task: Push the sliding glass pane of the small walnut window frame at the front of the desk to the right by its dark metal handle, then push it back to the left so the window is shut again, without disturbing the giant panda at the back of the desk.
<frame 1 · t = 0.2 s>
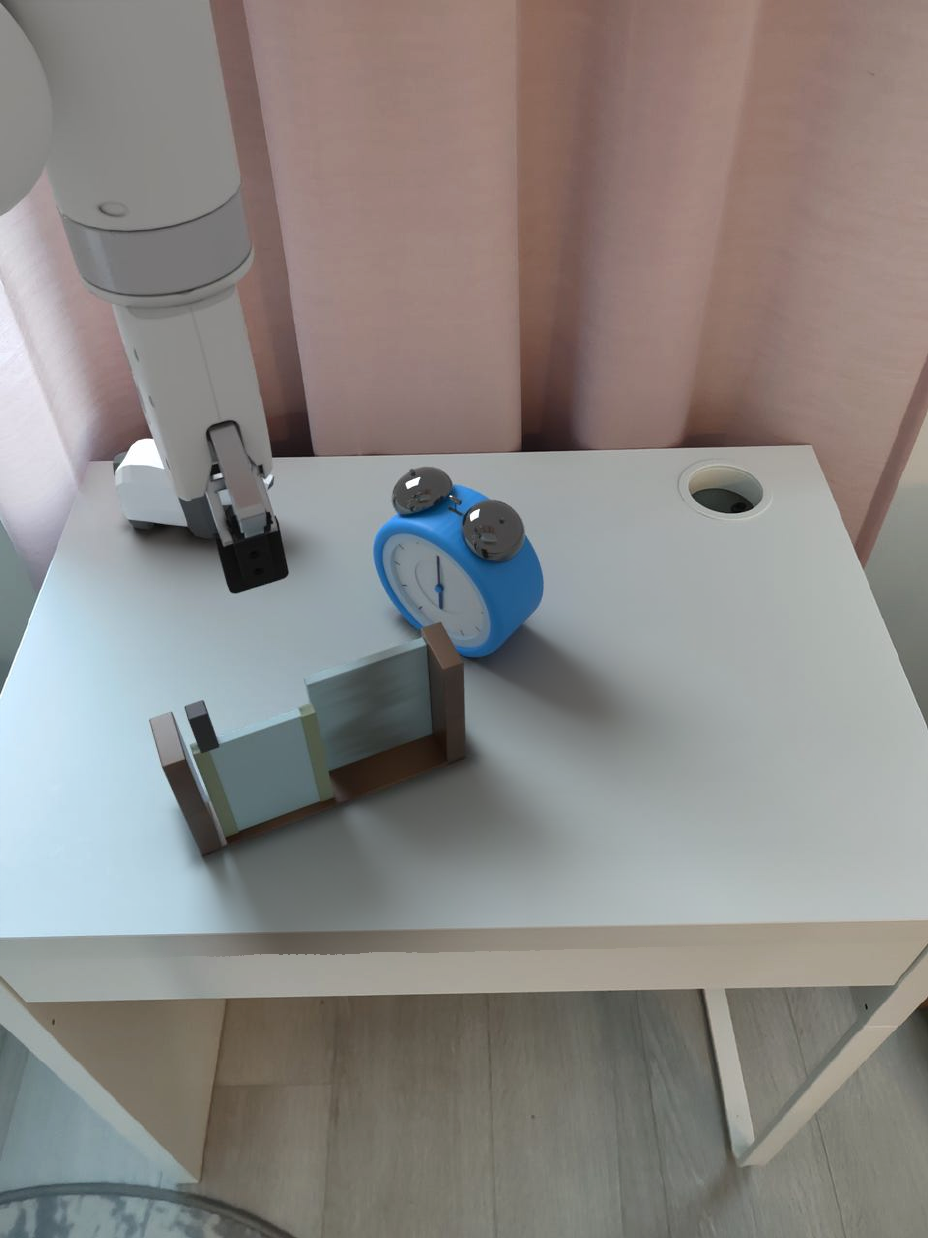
hand: (234, 524, 55), 26 cm above the table, tool pointing down, fingers open, 9 cm apart
giant panda: (202, 528, 93), on the table
alarm clock: (459, 627, 84), on the table
window frame: (331, 792, 74), on the table
pane: (262, 757, 66), point 9 cm above the table, slide at 0.0 cm
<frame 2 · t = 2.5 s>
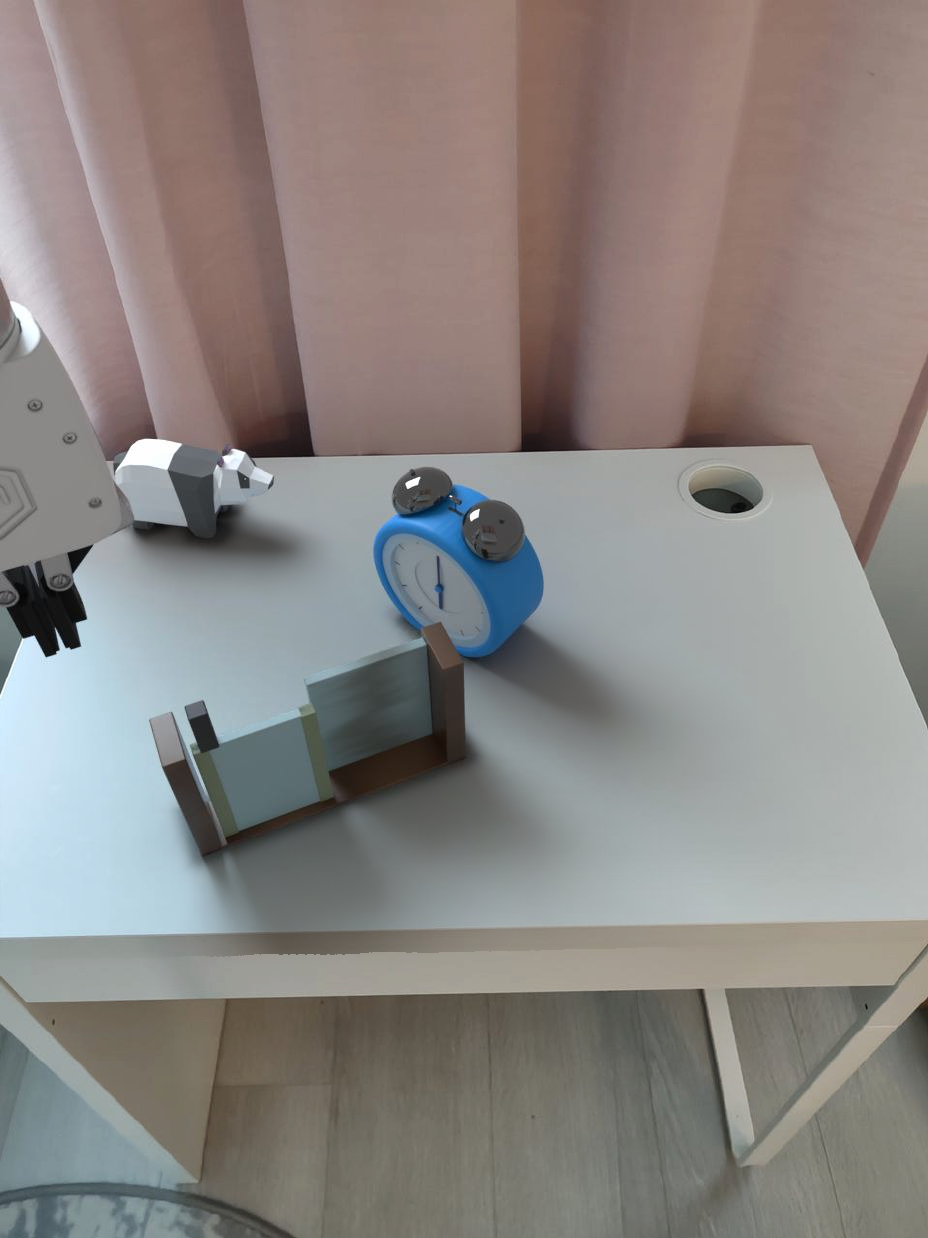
hand: (59, 632, 51), 25 cm above the table, tool pointing down, fingers closed
nothing on the table moved.
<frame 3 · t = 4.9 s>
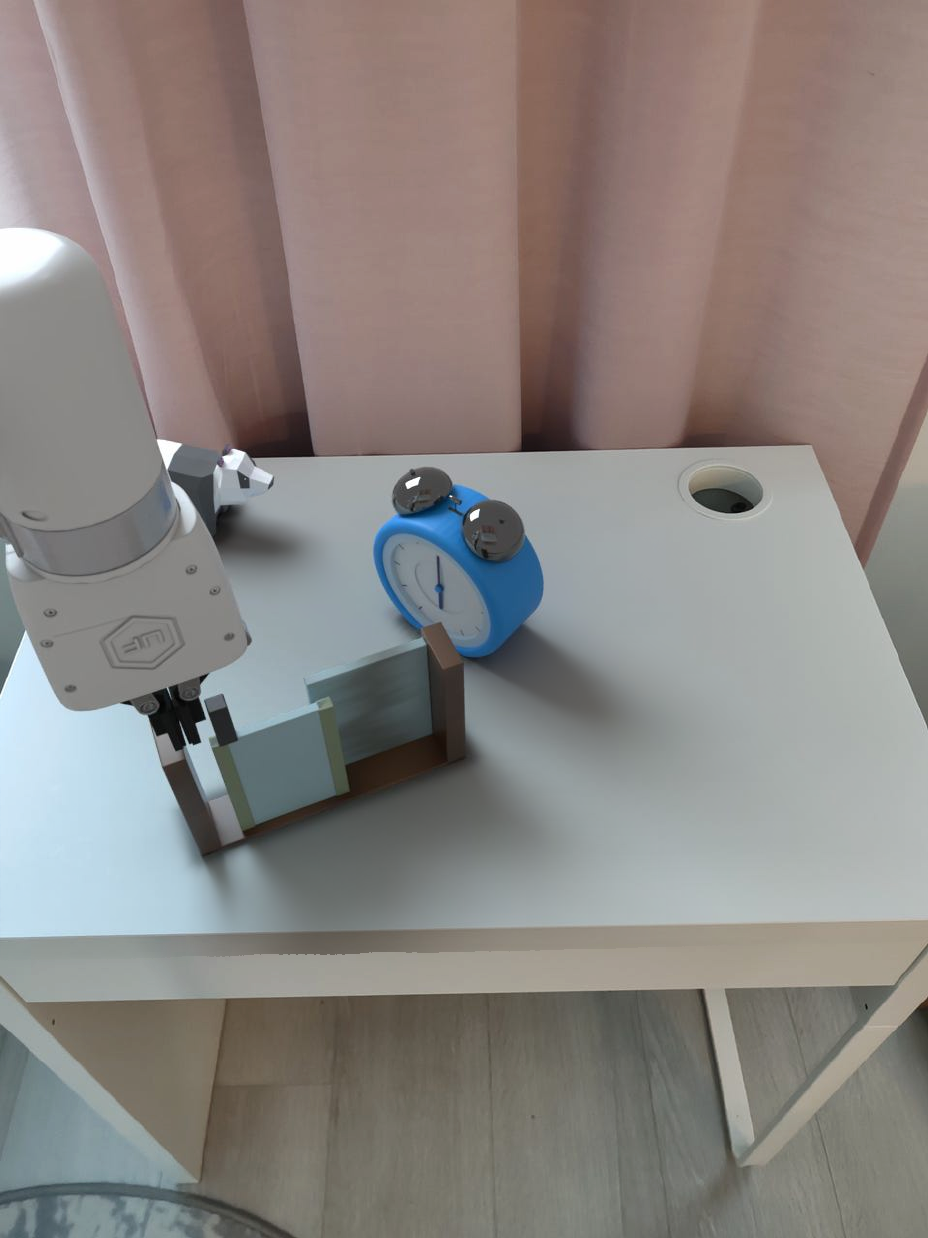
hand: (183, 729, 60), 14 cm above the table, tool pointing down, fingers closed
pane: (279, 751, 66), point 9 cm above the table, slide at 1.2 cm, touching gripper
everything else where it was.
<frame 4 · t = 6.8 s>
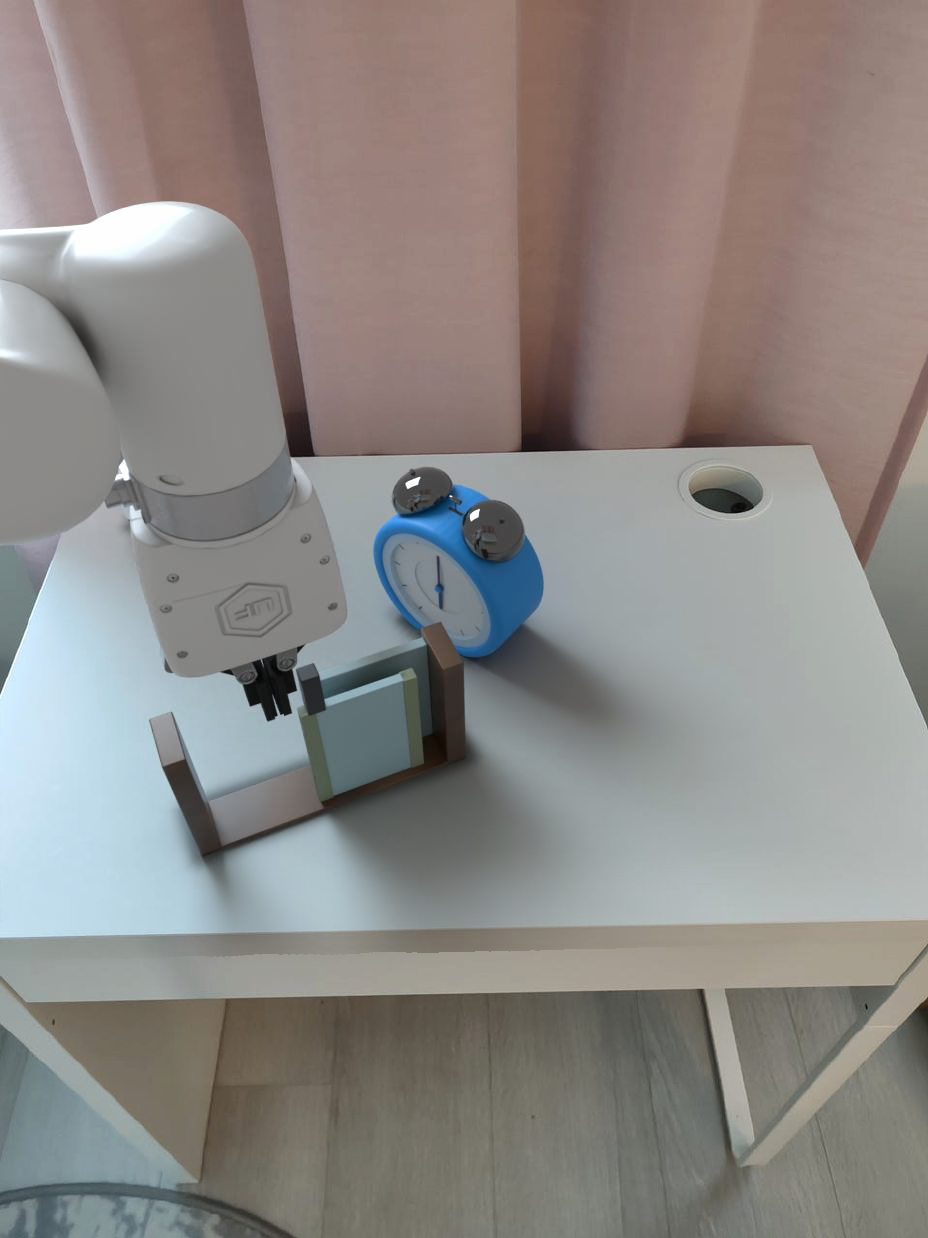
hand: (273, 700, 62), 14 cm above the table, tool pointing down, fingers closed
pane: (362, 722, 67), point 9 cm above the table, slide at 7.0 cm
everything else where it was.
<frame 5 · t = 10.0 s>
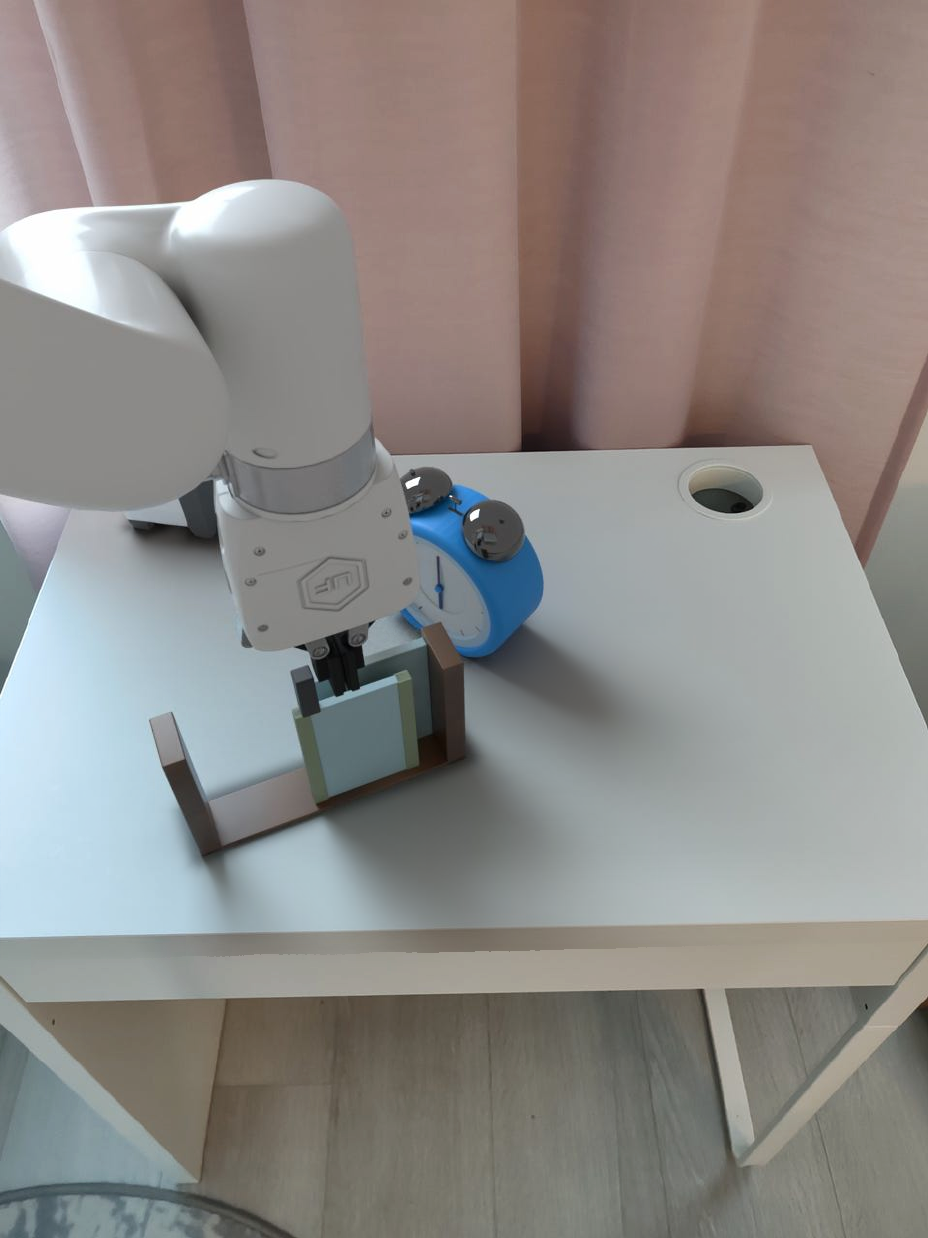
hand: (340, 676, 63), 14 cm above the table, tool pointing down, fingers closed
pane: (357, 724, 67), point 9 cm above the table, slide at 6.6 cm, touching gripper
everything else where it was.
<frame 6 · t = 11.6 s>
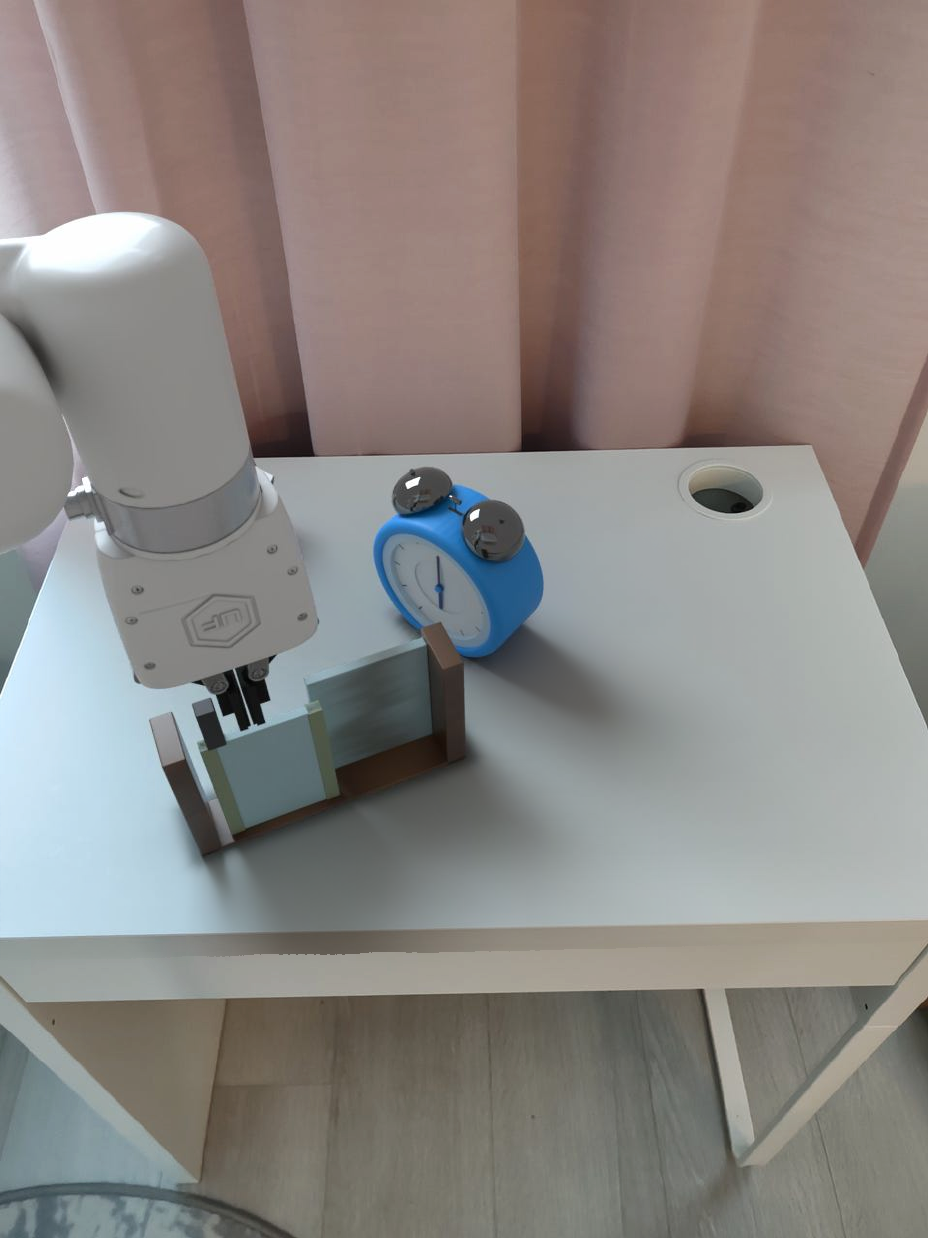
hand: (246, 709, 61), 14 cm above the table, tool pointing down, fingers closed
pane: (269, 755, 66), point 9 cm above the table, slide at 0.5 cm, touching gripper
everything else where it was.
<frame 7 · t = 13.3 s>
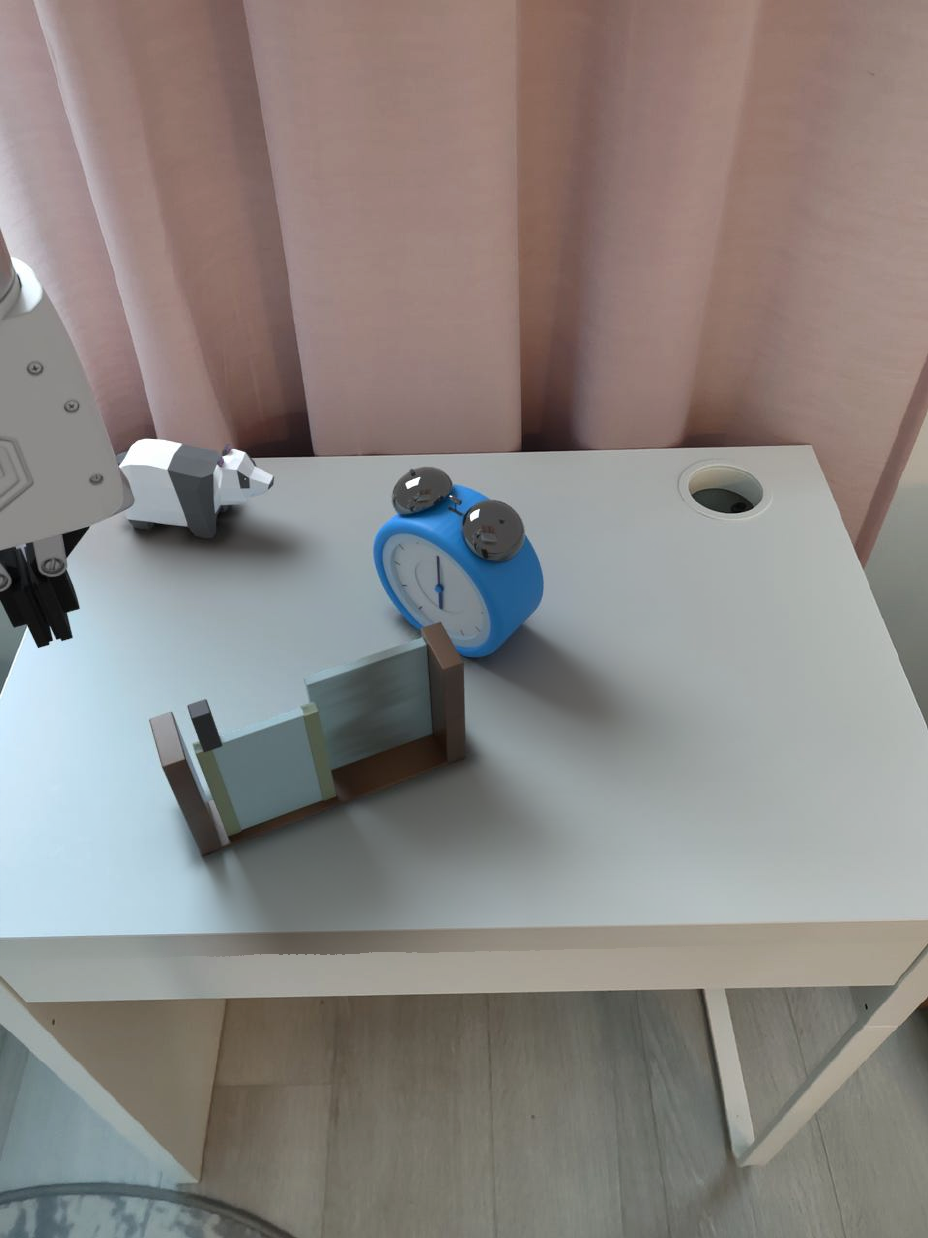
hand: (51, 622, 48), 28 cm above the table, tool pointing down, fingers closed
pane: (265, 756, 66), point 9 cm above the table, slide at 0.2 cm
everything else where it was.
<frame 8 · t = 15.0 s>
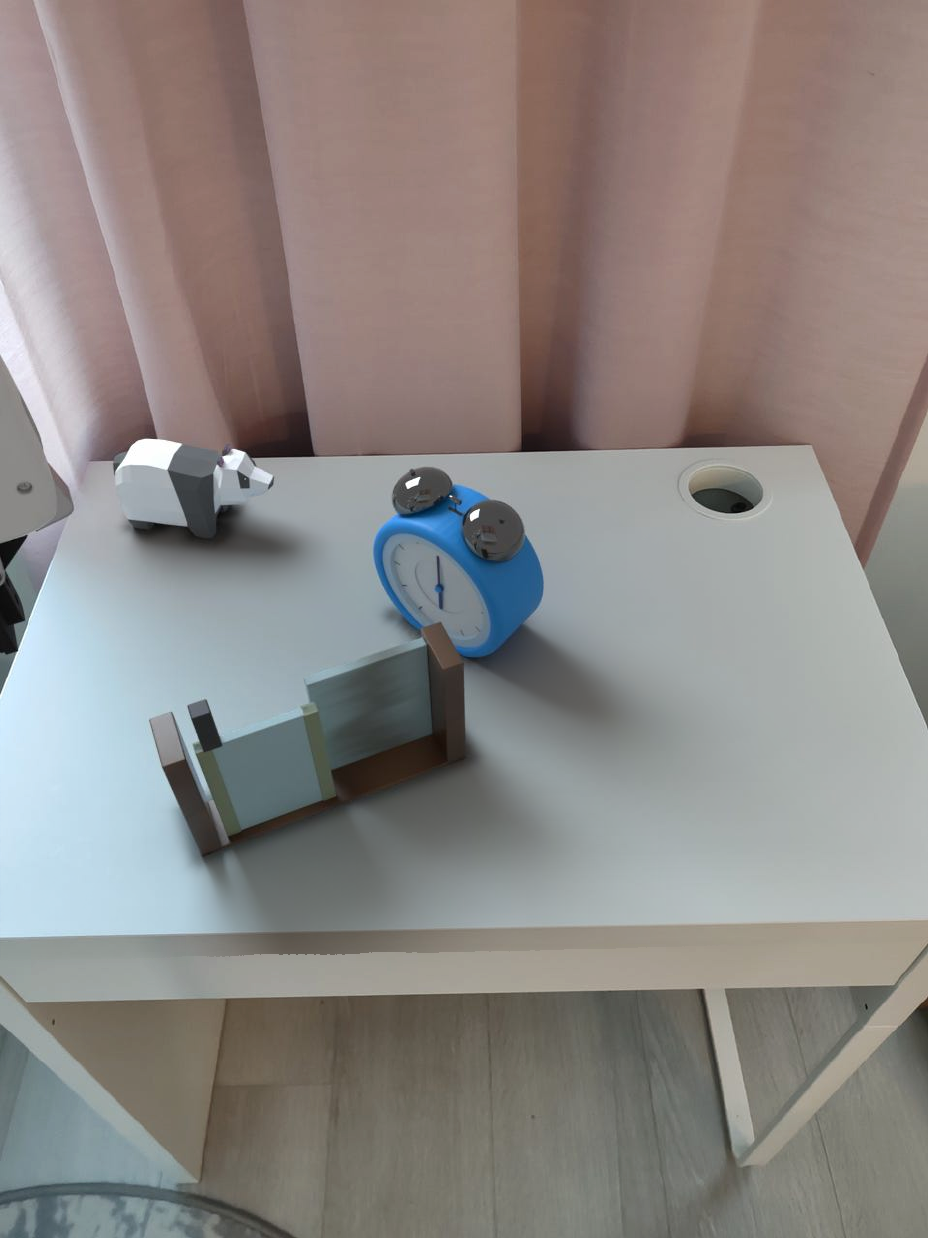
nothing on the table moved.
at the end: pane pulled out 7.0 cm at the most during the clip, back to 0.2 cm at the end; pane slide at 0.2 cm; giant panda moved 0.2 cm from its start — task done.
